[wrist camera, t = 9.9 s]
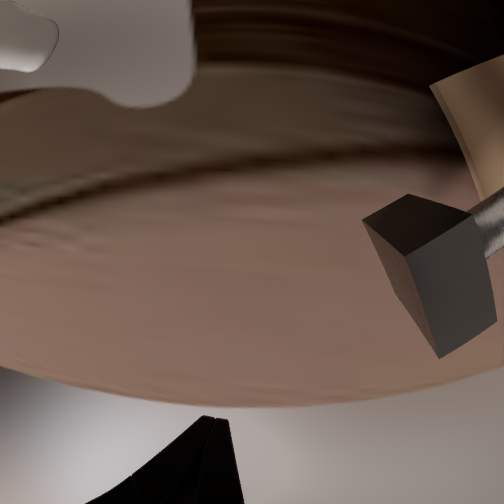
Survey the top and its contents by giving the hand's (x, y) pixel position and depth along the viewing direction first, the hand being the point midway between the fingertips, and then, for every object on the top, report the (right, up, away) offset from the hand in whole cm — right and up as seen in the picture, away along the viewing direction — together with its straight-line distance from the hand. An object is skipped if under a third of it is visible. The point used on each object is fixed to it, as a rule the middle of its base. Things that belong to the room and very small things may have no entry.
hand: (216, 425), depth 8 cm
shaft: (+16, +10, +2) cm, 19 cm away
